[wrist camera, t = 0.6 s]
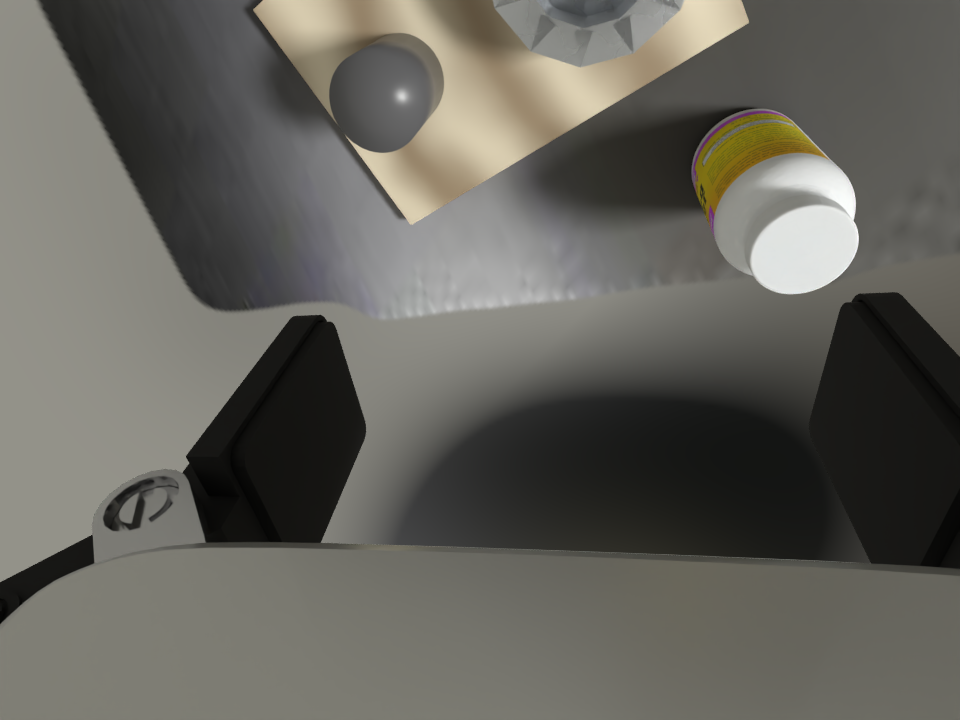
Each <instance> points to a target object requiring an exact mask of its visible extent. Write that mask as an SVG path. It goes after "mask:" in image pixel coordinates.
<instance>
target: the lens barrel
mask: <svg viewBox="0 0 960 720" xmlns="http://www.w3.org/2000/svg"><path fill="white" fill-rule="evenodd" d="M683 2H684V0H493V4H494V8H495V9H496V11H497V12H498V13H499V14H500V15H501V17H502V18H503V19H504V20H505V21H506V23H507V24H508V25H509V26H510V27H511V29H512V30H513V31H514V32H515V33H516V35H517V36H518V37H519V38H520V39H521V40H522V42H523V43H524V44H525V45H526V46H527V48H528V49H529V50H530V51H531V52H534V53H537V54H540V55H543V56H546V57H549V58H552V59H555V60H558V61H562V62H565V63H568V64H571V65H574V66H577V67H580V68H581V67H584V66H588V65H592V64H596V63H599V62H603V61H607V60H611V59H615V58H618V57H622V56H626V55H630V54H634V53H635V52H636V51H637V50H638V49H639V48H640V47H641V46H642V45H643V44H644V43H645V42H647V41H648V40H649V39H650V38H651V37H652V36H653V35H654V34H655V33H656V32H657V31H658V30H659V29H660V28H662V27H663V26H664V25H665V24H666V23H667V22H668V21H669V20H670V19H671V18H672V17H673V16H674V15H675V14H677V13H678V12H679V11H680V10H681V7H682V5H683Z"/></svg>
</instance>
